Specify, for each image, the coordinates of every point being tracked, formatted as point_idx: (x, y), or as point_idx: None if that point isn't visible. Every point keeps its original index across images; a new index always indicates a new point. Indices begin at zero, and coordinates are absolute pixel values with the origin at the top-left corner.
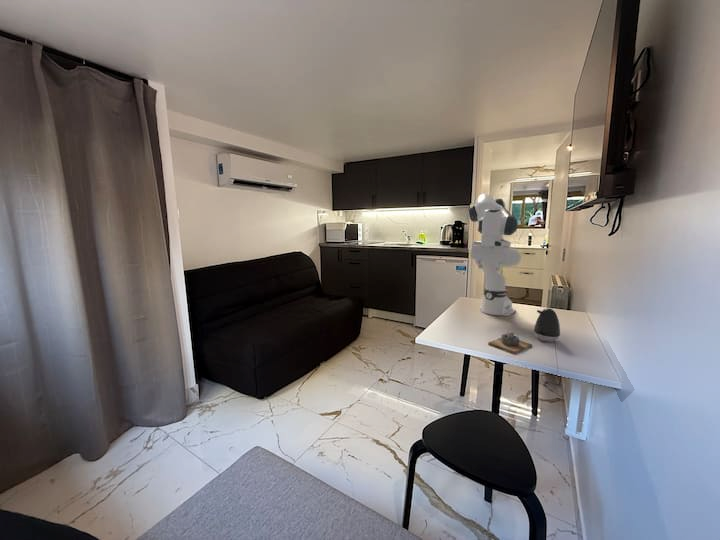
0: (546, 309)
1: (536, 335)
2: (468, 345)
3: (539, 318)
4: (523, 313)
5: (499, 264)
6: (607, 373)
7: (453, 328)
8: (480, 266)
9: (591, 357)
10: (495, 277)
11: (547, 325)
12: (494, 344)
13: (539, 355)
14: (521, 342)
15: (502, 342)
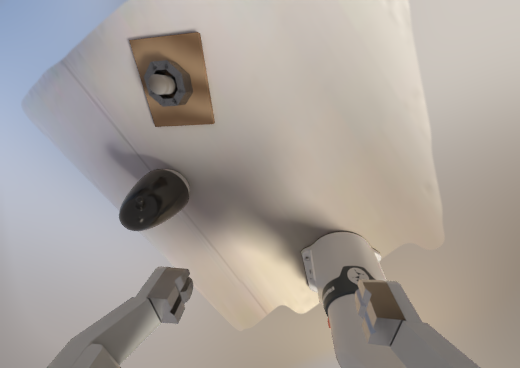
0: (129, 217)
1: (177, 173)
2: None
3: (151, 193)
4: (291, 282)
5: (84, 335)
6: (41, 123)
7: (341, 47)
8: (374, 300)
9: (96, 167)
10: (363, 352)
11: (137, 183)
12: (180, 34)
13: (117, 92)
14: (169, 116)
15: (178, 64)
